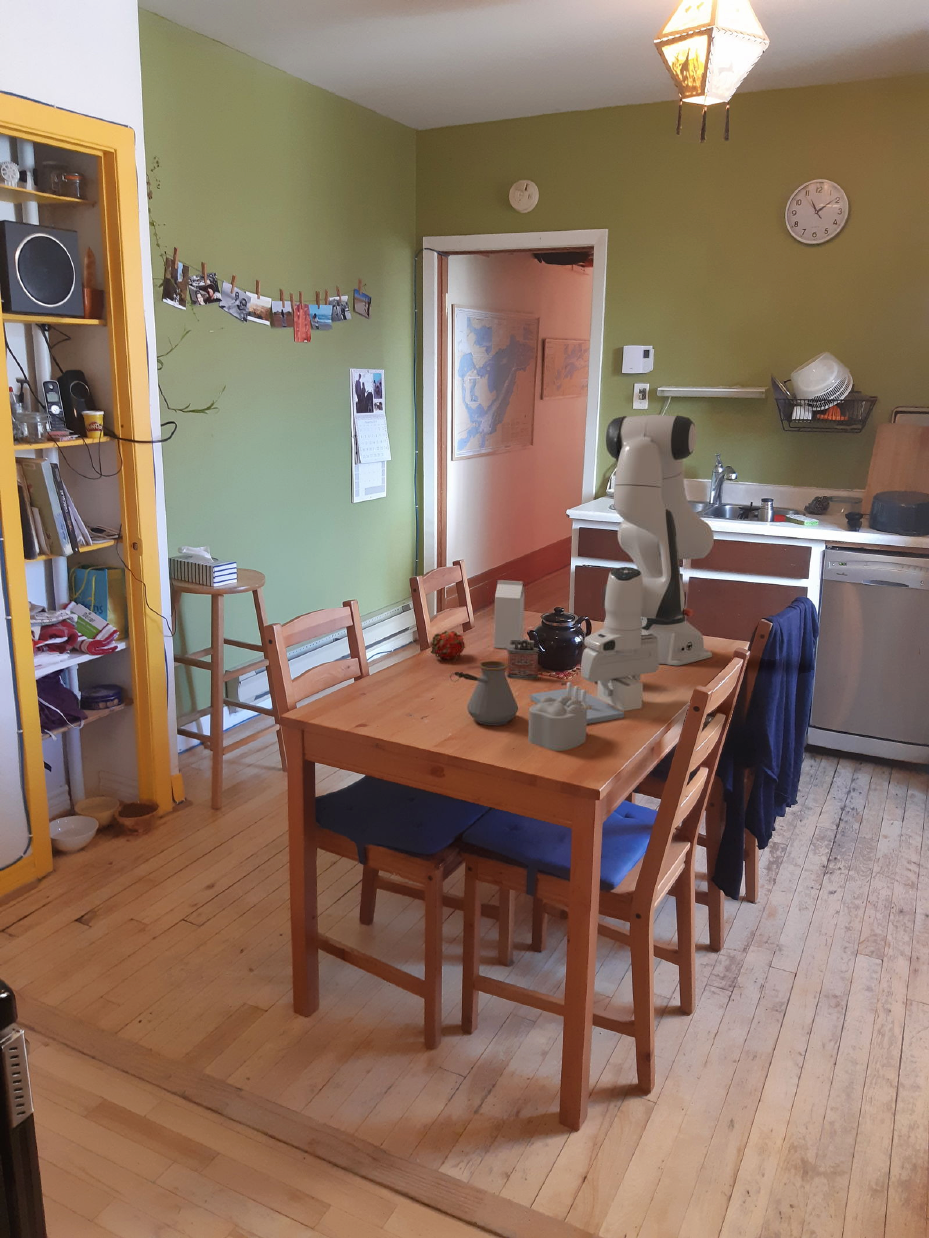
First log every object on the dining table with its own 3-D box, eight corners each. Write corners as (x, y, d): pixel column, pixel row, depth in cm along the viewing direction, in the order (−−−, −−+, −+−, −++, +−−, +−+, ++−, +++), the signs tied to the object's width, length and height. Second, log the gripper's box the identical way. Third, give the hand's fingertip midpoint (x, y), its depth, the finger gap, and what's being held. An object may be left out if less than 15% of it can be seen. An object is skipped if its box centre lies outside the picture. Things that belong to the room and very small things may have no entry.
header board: (575, 691, 234) (576, 671, 233) (623, 717, 217) (625, 695, 216) (529, 699, 229) (530, 678, 227) (575, 726, 211) (576, 703, 210)
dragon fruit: (428, 668, 257) (459, 665, 266) (449, 655, 252) (479, 652, 261) (418, 639, 259) (449, 638, 268) (438, 626, 254) (468, 624, 263)
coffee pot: (484, 707, 222) (485, 645, 219) (527, 717, 216) (529, 653, 213) (431, 734, 205) (431, 668, 202) (475, 746, 199) (476, 677, 195)
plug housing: (614, 694, 233) (615, 669, 231) (641, 708, 223) (643, 682, 222) (597, 697, 230) (598, 672, 229) (623, 711, 221) (625, 685, 219)
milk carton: (518, 650, 269) (520, 584, 265) (494, 648, 271) (495, 582, 266) (523, 643, 276) (524, 579, 271) (499, 641, 278) (500, 577, 273)
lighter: (538, 675, 247) (539, 638, 244) (537, 679, 243) (538, 641, 241) (506, 674, 247) (507, 637, 245) (506, 678, 244) (506, 640, 242)
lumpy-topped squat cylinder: (521, 740, 203) (522, 701, 201) (559, 725, 212) (560, 687, 210) (560, 753, 196) (562, 713, 194) (597, 737, 205) (599, 698, 203)
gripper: (650, 629, 230) (646, 684, 234) (578, 639, 221) (576, 695, 225) (666, 636, 225) (663, 691, 228) (593, 646, 216) (591, 703, 219)
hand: (619, 693), depth 226 cm, fingers closed on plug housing, 5 cm apart
